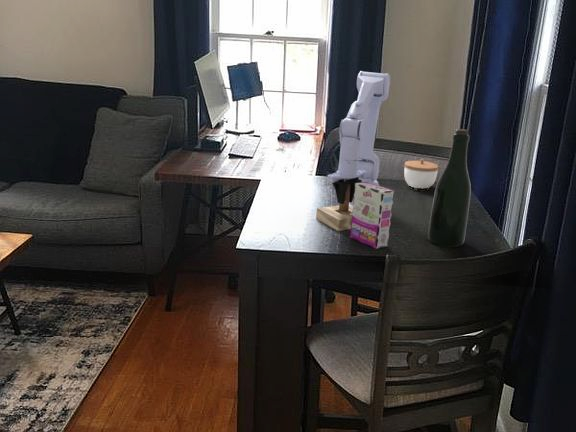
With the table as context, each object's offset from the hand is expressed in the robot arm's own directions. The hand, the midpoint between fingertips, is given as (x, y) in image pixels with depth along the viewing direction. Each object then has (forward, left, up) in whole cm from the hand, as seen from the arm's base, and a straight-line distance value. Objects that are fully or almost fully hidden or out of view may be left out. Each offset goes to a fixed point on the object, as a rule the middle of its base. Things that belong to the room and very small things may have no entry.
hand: (344, 202), depth 194 cm
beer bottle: (-19, +25, -7) cm, 32 cm away
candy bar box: (+3, +17, -7) cm, 19 cm away
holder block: (0, 0, -6) cm, 6 cm away
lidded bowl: (-53, -25, -7) cm, 59 cm away
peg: (0, 0, -3) cm, 3 cm away
